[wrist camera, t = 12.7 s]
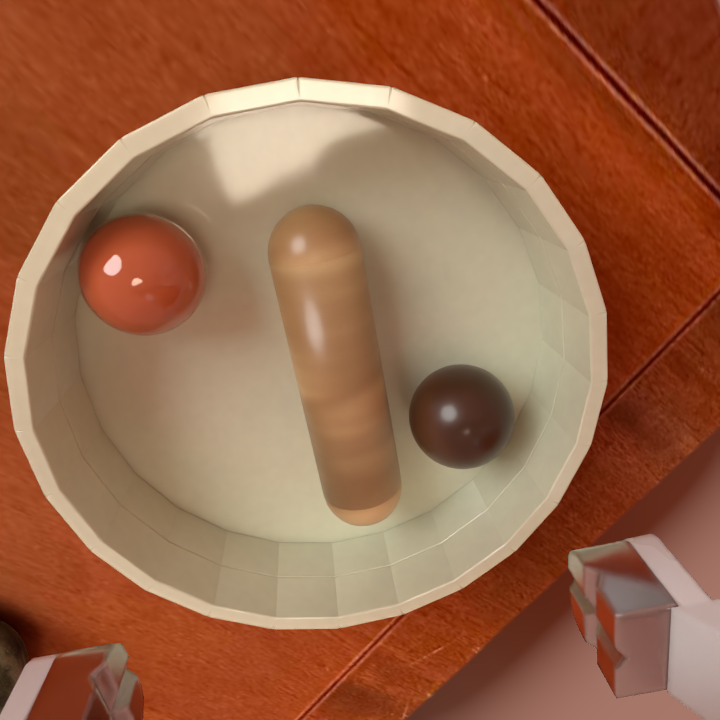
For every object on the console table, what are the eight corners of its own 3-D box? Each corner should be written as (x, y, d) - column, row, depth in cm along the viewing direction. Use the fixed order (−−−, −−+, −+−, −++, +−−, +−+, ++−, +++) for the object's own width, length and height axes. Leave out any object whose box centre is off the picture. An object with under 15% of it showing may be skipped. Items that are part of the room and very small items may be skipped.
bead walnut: (422, 386, 26) (505, 350, 24) (454, 475, 25) (543, 445, 23) (376, 386, 22) (469, 344, 20) (411, 489, 21) (512, 455, 20)
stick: (237, 219, 19) (311, 214, 17) (300, 198, 22) (371, 192, 20) (315, 530, 24) (379, 553, 22) (359, 486, 27) (421, 504, 25)
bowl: (342, -46, 19) (358, -100, 14) (631, 365, 26) (705, 418, 21) (-45, 334, 22) (-135, 389, 18) (300, 610, 29) (301, 703, 24)
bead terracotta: (194, 182, 19) (64, 196, 17) (241, 292, 19) (116, 322, 16) (164, 240, 22) (52, 258, 20) (204, 335, 22) (94, 365, 20)
